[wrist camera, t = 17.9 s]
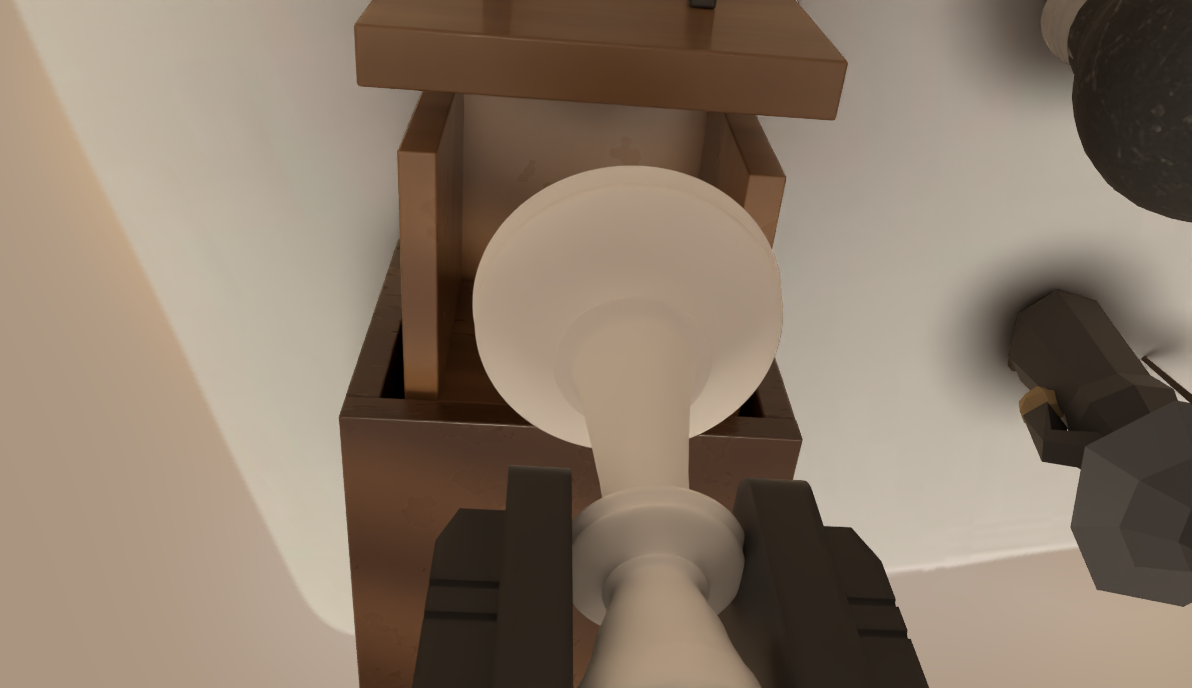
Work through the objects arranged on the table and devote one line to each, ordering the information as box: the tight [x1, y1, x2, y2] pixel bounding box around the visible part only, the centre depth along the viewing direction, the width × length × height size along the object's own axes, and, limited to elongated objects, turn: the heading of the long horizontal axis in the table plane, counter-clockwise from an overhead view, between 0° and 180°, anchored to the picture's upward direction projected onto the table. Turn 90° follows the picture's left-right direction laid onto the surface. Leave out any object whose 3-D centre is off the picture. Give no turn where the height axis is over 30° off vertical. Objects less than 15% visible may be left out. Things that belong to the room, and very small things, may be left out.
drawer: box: [354, 0, 848, 417], centre depth 22 cm, size 15×9×7 cm, turn 175°
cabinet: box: [339, 238, 802, 688], centre depth 29 cm, size 11×11×9 cm
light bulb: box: [1041, 0, 1192, 222], centre depth 22 cm, size 6×6×10 cm
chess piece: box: [473, 166, 783, 688], centre depth 11 cm, size 5×5×10 cm
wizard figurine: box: [1008, 290, 1192, 607], centre depth 27 cm, size 8×6×12 cm
